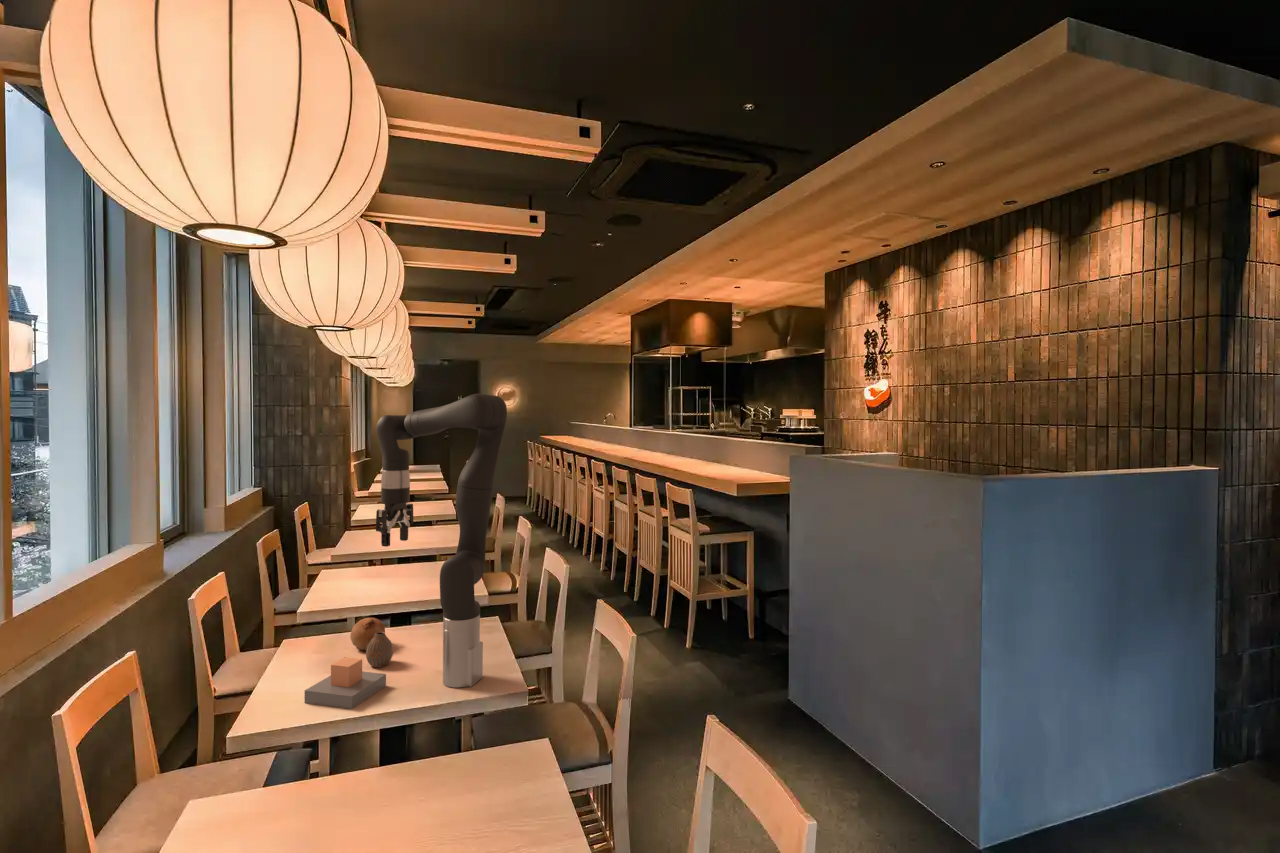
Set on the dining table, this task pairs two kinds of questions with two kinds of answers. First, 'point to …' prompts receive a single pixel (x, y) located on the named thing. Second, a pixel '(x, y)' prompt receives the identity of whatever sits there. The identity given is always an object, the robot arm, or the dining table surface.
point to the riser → (345, 691)
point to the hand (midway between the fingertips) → (395, 543)
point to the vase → (379, 650)
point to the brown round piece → (365, 632)
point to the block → (346, 672)
